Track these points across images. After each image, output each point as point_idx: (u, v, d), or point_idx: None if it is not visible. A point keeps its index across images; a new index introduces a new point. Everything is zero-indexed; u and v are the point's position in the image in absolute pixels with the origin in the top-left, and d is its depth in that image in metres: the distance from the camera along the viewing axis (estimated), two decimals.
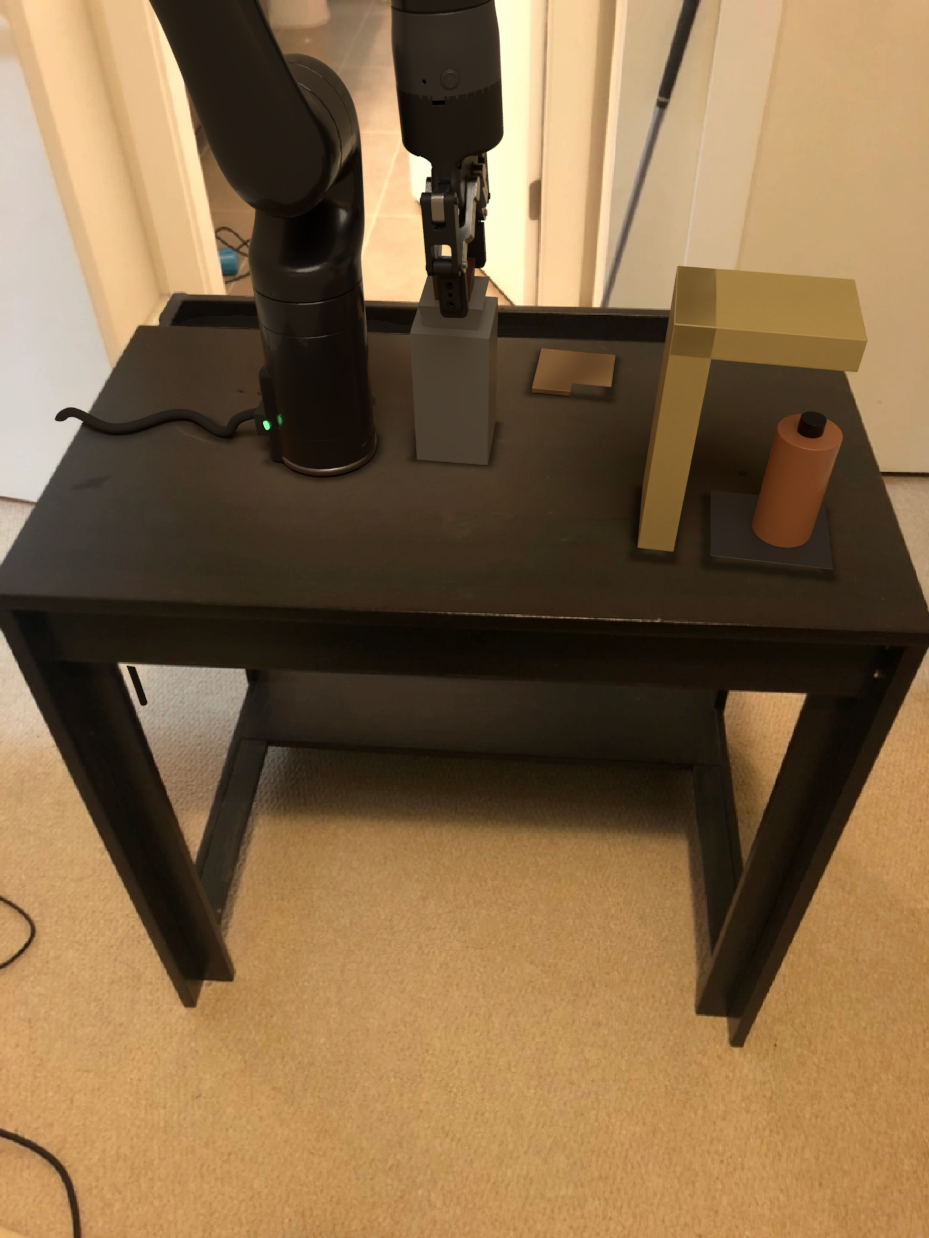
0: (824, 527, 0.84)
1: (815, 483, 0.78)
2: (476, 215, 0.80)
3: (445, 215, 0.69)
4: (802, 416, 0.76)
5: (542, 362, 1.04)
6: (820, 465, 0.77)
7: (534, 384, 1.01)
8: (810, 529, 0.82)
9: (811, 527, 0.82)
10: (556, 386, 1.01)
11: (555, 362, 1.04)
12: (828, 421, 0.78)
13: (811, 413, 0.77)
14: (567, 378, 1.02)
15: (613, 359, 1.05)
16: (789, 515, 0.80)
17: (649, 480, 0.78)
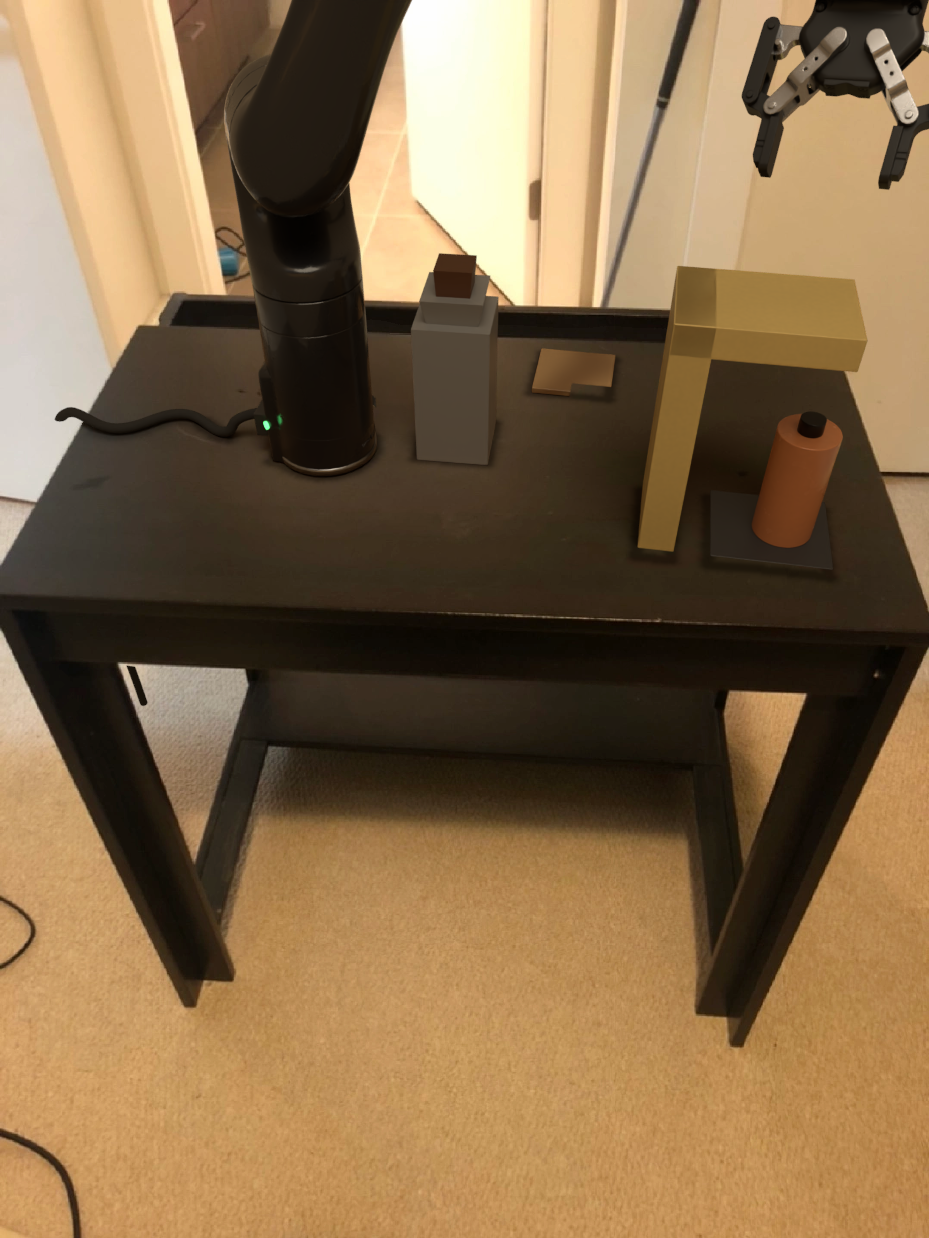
0: (824, 527, 0.84)
1: (815, 483, 0.78)
2: (783, 115, 0.73)
3: None
4: (802, 416, 0.76)
5: (542, 362, 1.04)
6: (820, 465, 0.77)
7: (534, 384, 1.01)
8: (810, 529, 0.82)
9: (811, 527, 0.82)
10: (556, 386, 1.01)
11: (555, 362, 1.04)
12: (828, 421, 0.78)
13: (811, 413, 0.77)
14: (567, 378, 1.02)
15: (613, 359, 1.05)
16: (789, 515, 0.80)
17: (649, 480, 0.78)
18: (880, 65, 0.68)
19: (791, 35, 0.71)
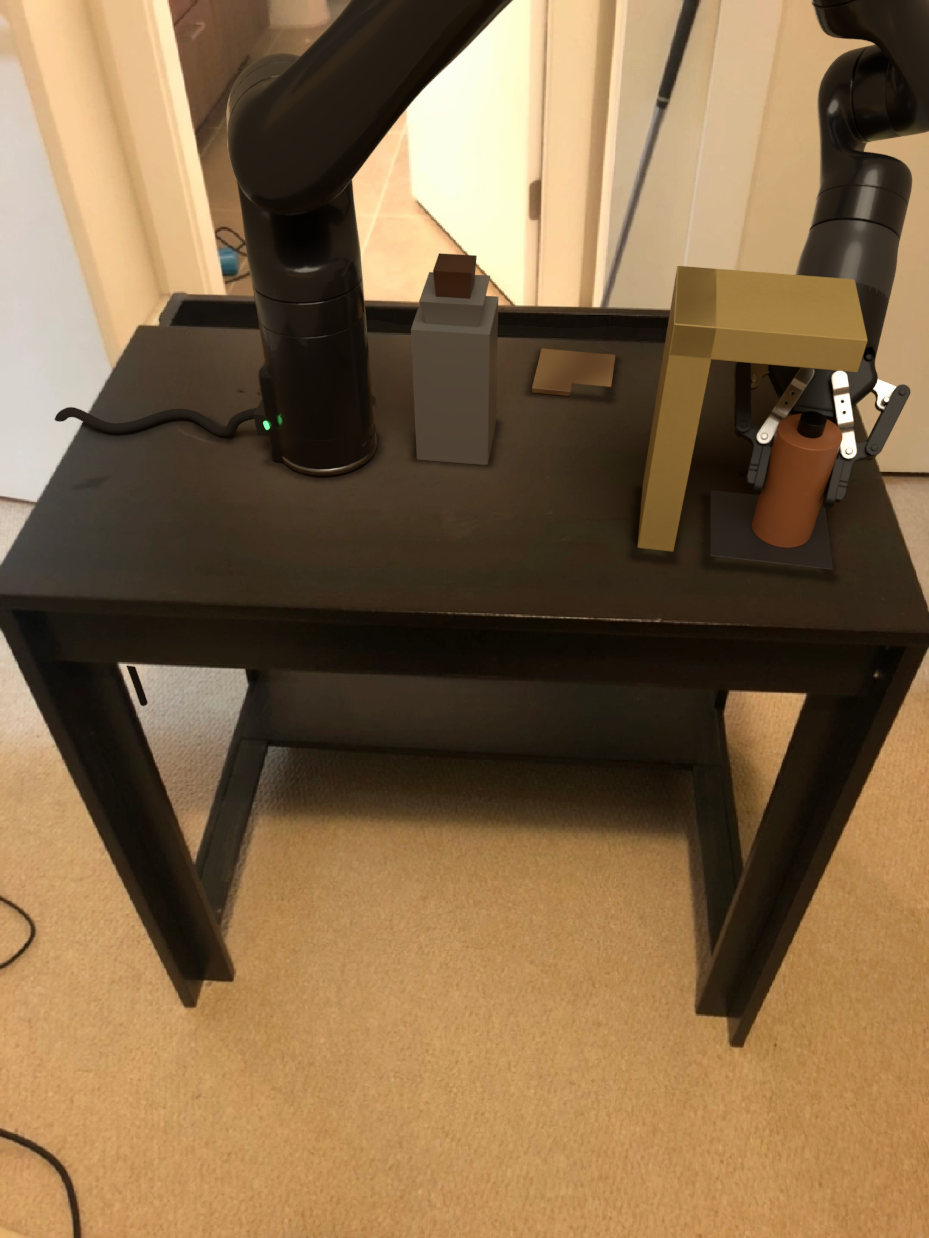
0: (824, 527, 0.84)
1: (815, 483, 0.78)
2: None
3: None
4: (802, 416, 0.76)
5: (542, 362, 1.04)
6: (820, 465, 0.77)
7: (534, 384, 1.01)
8: (810, 529, 0.82)
9: (811, 527, 0.82)
10: (556, 386, 1.01)
11: (555, 362, 1.04)
12: (828, 421, 0.78)
13: (811, 413, 0.77)
14: (567, 378, 1.02)
15: (613, 359, 1.05)
16: (789, 515, 0.80)
17: (649, 480, 0.78)
18: (837, 402, 0.77)
19: (761, 370, 0.80)
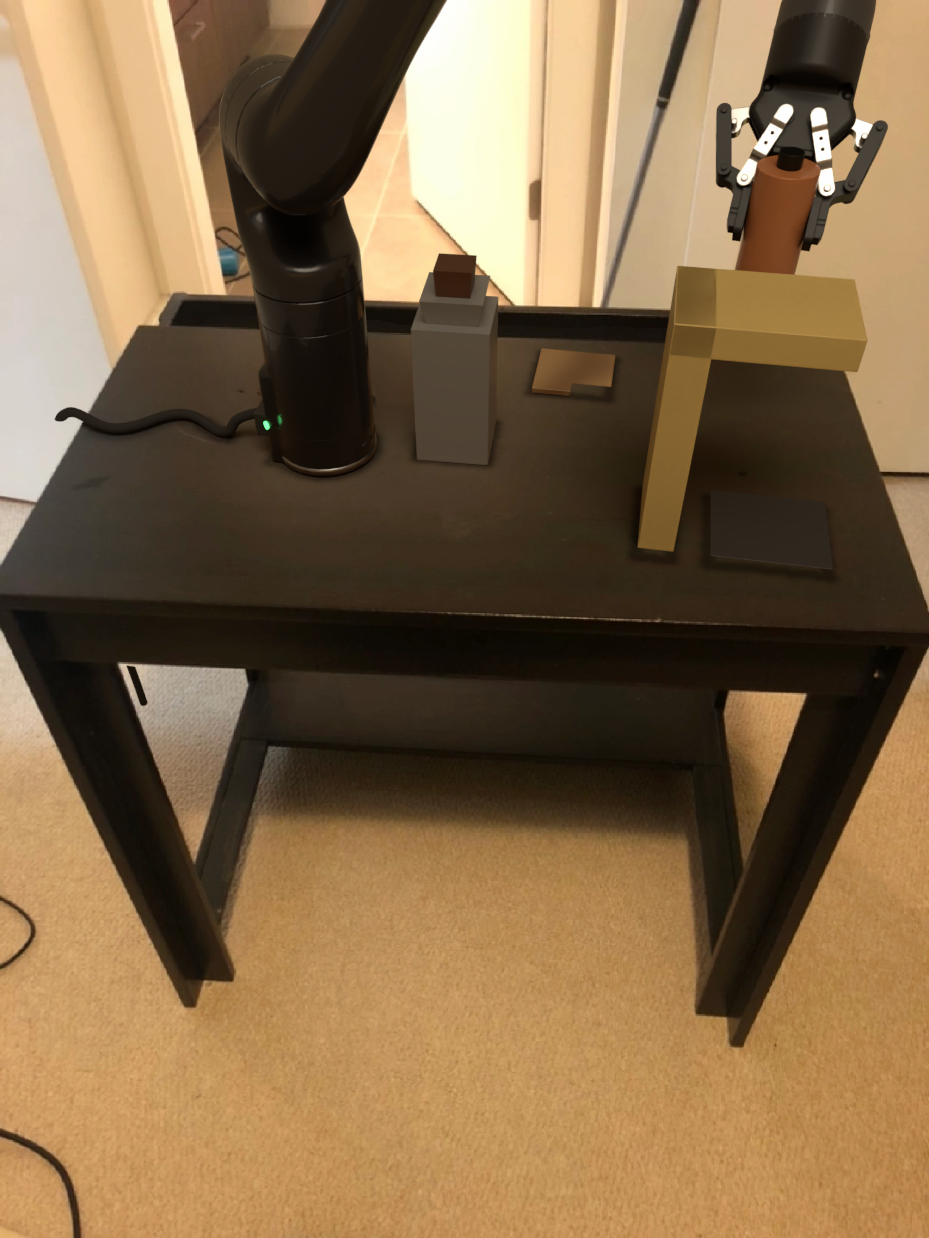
0: (824, 527, 0.84)
1: (794, 220, 0.79)
2: (750, 188, 0.82)
3: (878, 150, 0.80)
4: (781, 149, 0.78)
5: (542, 362, 1.04)
6: (798, 199, 0.78)
7: (534, 384, 1.01)
8: None
9: None
10: (556, 386, 1.01)
11: (555, 362, 1.04)
12: (807, 160, 0.79)
13: (790, 148, 0.78)
14: (567, 378, 1.02)
15: (613, 359, 1.05)
16: (768, 259, 0.81)
17: (649, 480, 0.78)
18: (815, 139, 0.79)
19: (742, 115, 0.81)
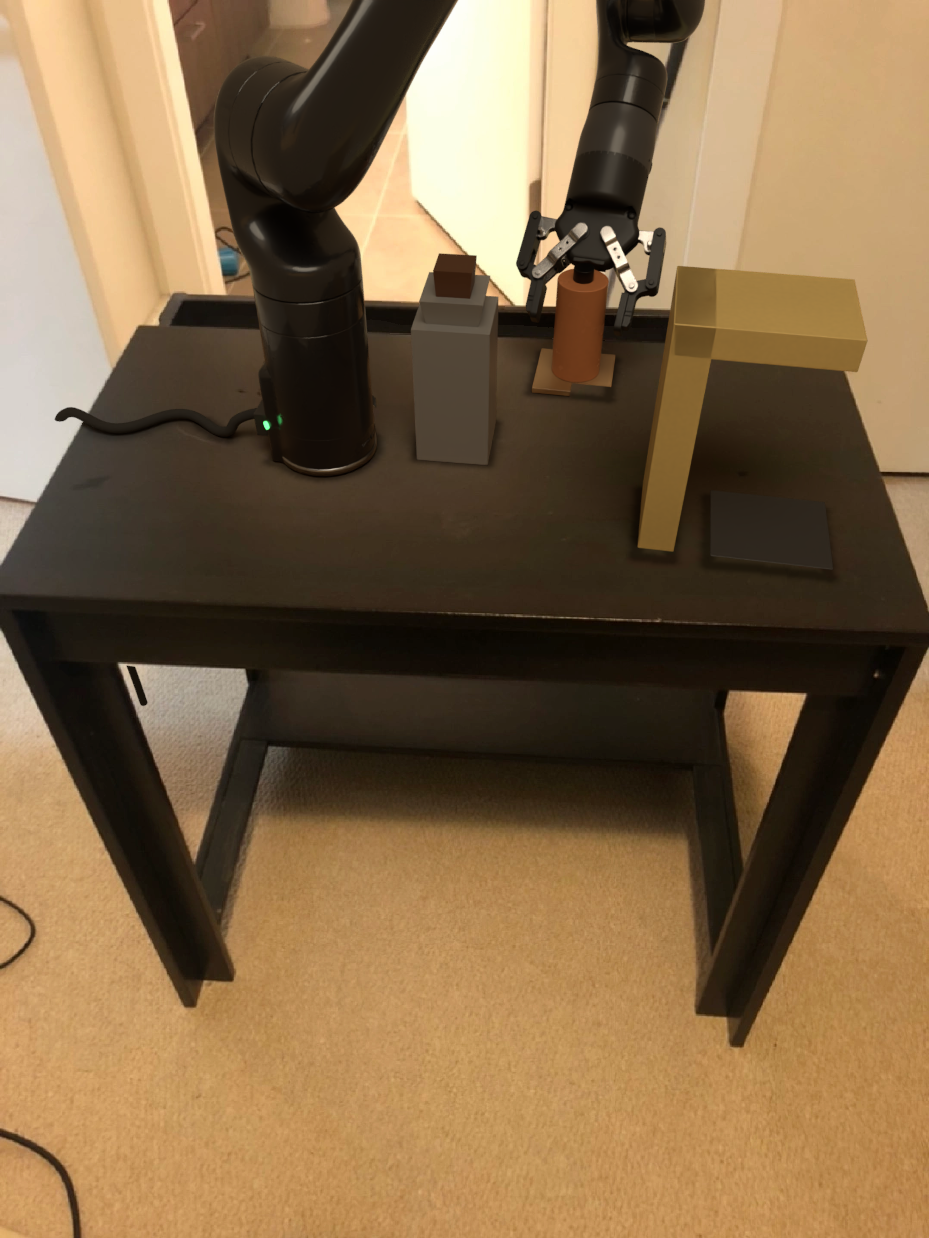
0: (824, 527, 0.84)
1: (589, 322, 0.97)
2: (546, 279, 0.99)
3: (664, 249, 0.97)
4: (575, 266, 0.95)
5: (542, 362, 1.04)
6: (590, 306, 0.95)
7: (534, 384, 1.01)
8: (594, 366, 1.01)
9: (594, 364, 1.01)
10: (556, 386, 1.01)
11: None
12: (600, 273, 0.97)
13: (583, 264, 0.96)
14: None
15: (613, 359, 1.05)
16: (573, 352, 0.99)
17: (649, 480, 0.78)
18: (610, 251, 0.96)
19: (549, 224, 0.98)
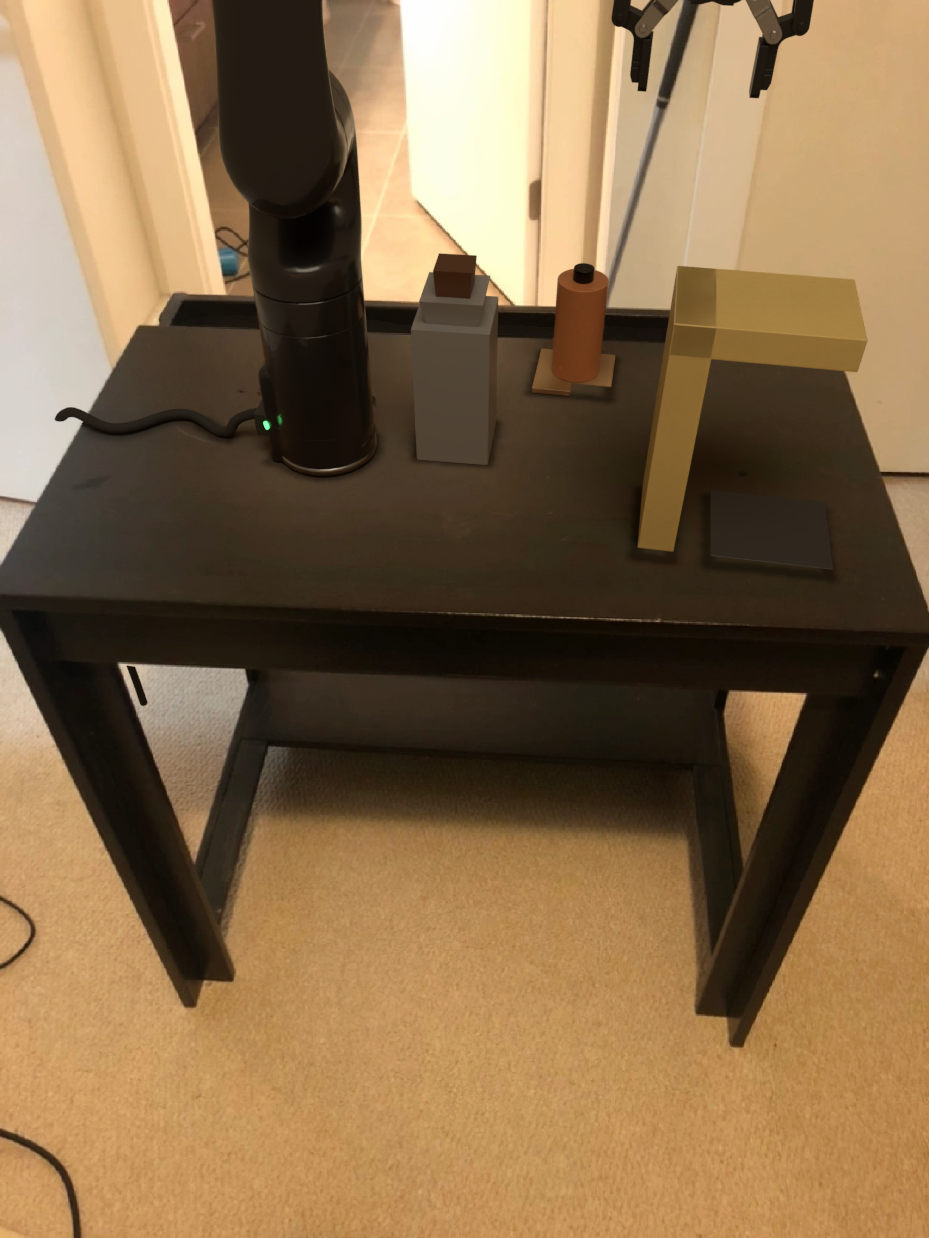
0: (824, 527, 0.84)
1: (589, 322, 0.97)
2: None
3: None
4: (575, 266, 0.95)
5: (542, 362, 1.04)
6: (590, 306, 0.95)
7: (534, 384, 1.01)
8: (594, 366, 1.01)
9: (594, 364, 1.01)
10: (556, 386, 1.01)
11: None
12: (600, 273, 0.97)
13: (583, 264, 0.96)
14: None
15: (613, 359, 1.05)
16: (573, 352, 0.99)
17: (649, 480, 0.78)
18: None
19: None
